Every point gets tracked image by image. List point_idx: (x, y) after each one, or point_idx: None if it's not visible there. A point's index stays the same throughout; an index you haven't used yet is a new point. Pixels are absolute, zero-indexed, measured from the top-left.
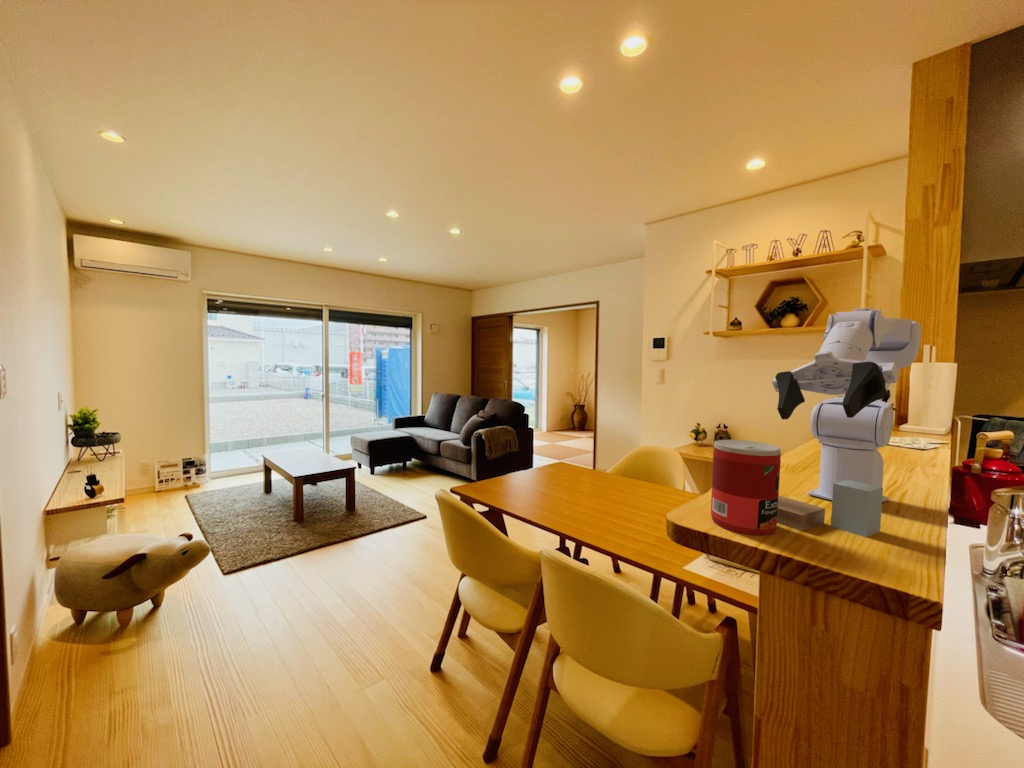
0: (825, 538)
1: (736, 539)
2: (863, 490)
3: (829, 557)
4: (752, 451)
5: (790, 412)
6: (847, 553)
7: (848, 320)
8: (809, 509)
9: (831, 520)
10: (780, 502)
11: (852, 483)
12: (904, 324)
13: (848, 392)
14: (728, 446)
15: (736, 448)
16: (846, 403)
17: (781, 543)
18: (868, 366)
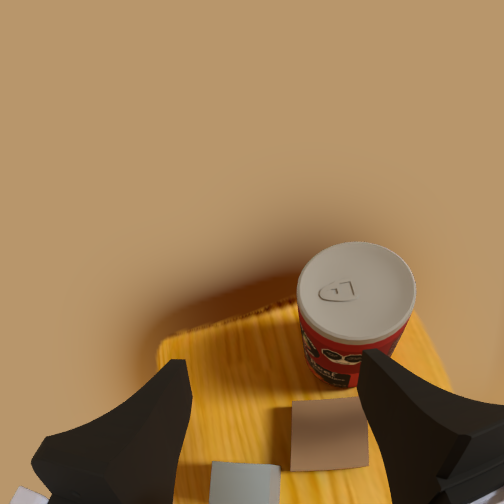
0: (263, 409)
1: None
2: (221, 462)
3: (235, 352)
4: (315, 255)
5: (368, 412)
6: (227, 382)
7: None
8: (301, 441)
9: (279, 466)
10: (345, 430)
11: (250, 497)
12: None
13: (162, 382)
14: (376, 267)
15: (338, 244)
16: (174, 361)
17: (284, 341)
18: (59, 442)
